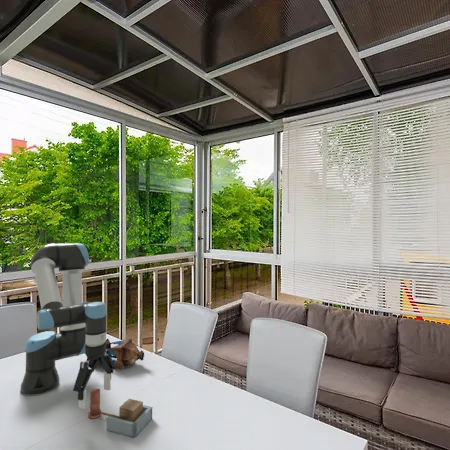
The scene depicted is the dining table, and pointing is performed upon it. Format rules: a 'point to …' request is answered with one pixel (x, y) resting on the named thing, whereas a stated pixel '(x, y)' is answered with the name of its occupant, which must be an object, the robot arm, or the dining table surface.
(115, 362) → the lantern
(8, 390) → the dining table surface
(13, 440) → the dining table surface
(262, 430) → the dining table surface
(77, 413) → the dining table surface
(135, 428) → the slate open-sided box
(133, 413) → the block and peg linkage
